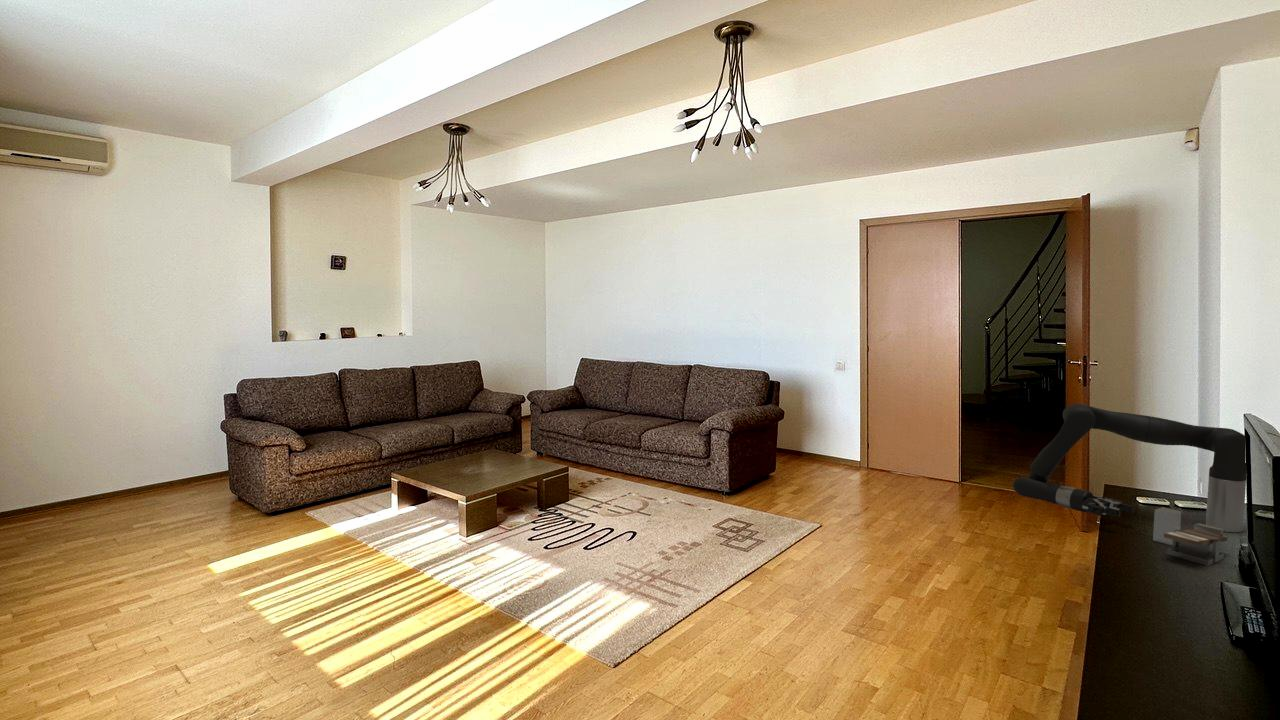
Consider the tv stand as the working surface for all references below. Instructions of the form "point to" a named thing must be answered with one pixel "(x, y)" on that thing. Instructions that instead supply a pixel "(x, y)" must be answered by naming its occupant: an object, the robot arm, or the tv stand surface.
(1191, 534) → the balance beam
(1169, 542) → the weight block
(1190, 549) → the pivot stand
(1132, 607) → the tv stand surface
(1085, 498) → the robot arm
